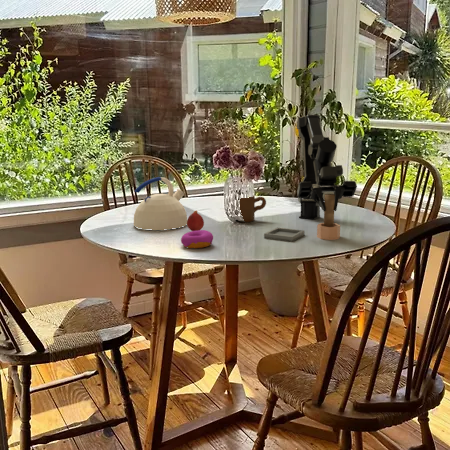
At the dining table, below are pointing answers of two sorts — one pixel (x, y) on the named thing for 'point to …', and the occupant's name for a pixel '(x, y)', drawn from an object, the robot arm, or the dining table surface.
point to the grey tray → (284, 234)
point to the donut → (197, 239)
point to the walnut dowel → (329, 210)
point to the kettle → (160, 209)
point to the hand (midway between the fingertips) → (330, 210)
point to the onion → (195, 221)
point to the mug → (250, 207)
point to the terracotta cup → (328, 231)
